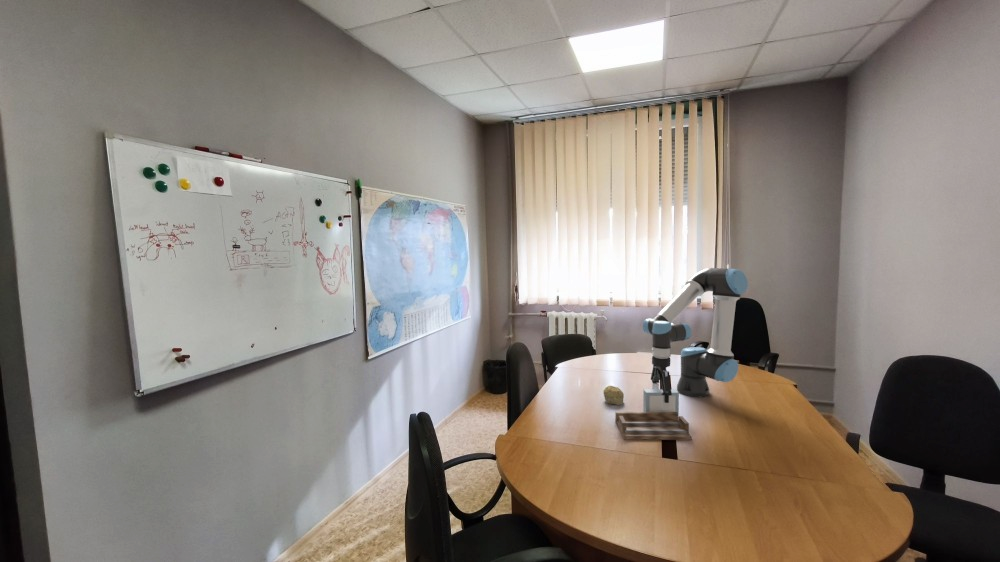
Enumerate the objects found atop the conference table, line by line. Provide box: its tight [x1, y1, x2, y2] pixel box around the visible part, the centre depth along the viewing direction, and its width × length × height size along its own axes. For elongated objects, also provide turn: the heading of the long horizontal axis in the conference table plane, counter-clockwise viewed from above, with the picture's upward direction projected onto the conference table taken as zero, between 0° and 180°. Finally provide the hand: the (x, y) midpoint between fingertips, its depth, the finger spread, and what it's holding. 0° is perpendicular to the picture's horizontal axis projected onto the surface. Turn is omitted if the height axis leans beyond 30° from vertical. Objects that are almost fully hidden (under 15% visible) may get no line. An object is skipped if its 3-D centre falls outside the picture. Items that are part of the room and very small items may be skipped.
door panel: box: [642, 388, 680, 420], centre depth 173 cm, size 14×4×12 cm, turn 86°
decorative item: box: [603, 385, 625, 406], centre depth 191 cm, size 10×10×10 cm
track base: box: [614, 411, 693, 441], centre depth 161 cm, size 26×16×6 cm, turn 86°
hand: (660, 403), depth 173 cm, fingers open, 13 cm apart
